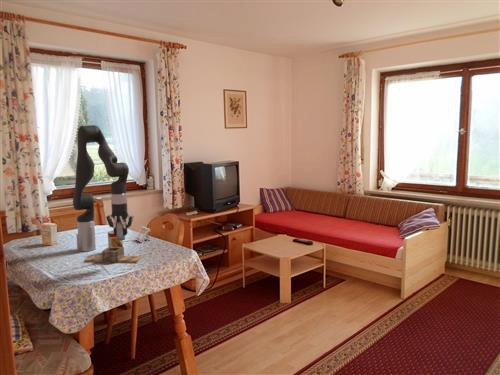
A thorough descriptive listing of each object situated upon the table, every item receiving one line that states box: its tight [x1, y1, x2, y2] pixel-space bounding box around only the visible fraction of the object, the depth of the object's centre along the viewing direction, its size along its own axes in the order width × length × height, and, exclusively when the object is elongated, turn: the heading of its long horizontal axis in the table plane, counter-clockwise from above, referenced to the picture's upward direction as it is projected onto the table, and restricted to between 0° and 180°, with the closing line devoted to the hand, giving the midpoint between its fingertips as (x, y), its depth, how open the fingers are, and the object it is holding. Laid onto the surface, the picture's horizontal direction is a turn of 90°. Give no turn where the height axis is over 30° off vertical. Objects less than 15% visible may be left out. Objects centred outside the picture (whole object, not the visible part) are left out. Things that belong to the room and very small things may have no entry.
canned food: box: [107, 229, 124, 248], centre depth 223 cm, size 8×8×12 cm
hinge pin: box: [116, 222, 126, 241], centre depth 198 cm, size 4×4×9 cm
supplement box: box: [40, 222, 59, 247], centre depth 241 cm, size 8×5×13 cm, turn 68°
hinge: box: [84, 246, 143, 264], centre depth 209 cm, size 28×8×6 cm, turn 86°
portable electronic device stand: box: [134, 226, 151, 243], centre depth 248 cm, size 9×8×8 cm
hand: (120, 235), depth 199 cm, fingers closed on hinge pin, 4 cm apart
